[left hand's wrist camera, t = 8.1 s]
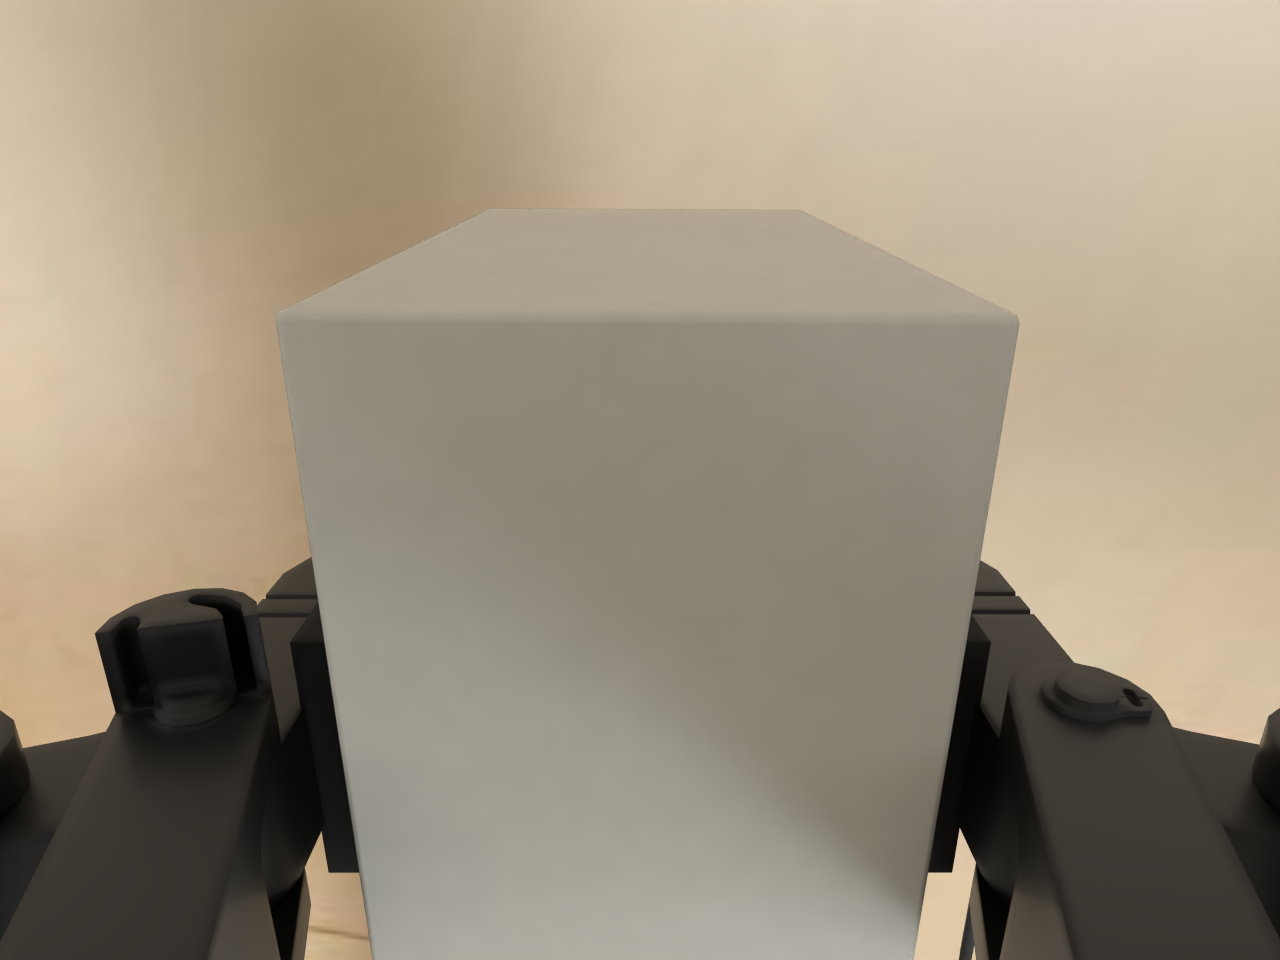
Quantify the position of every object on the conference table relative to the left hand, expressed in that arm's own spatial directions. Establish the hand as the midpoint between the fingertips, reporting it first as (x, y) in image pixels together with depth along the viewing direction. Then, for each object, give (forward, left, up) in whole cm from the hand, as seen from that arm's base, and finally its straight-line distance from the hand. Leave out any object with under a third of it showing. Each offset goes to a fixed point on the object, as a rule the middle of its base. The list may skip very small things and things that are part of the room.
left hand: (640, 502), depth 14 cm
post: (+16, +18, -1) cm, 24 cm away
